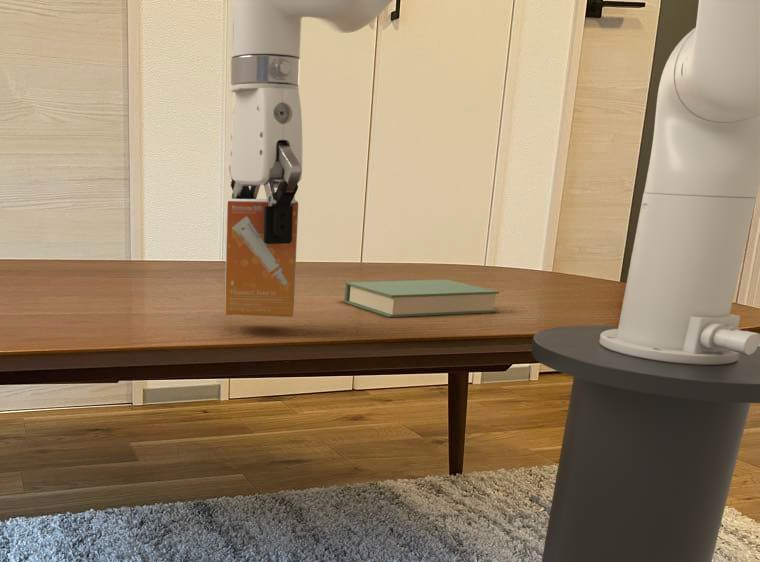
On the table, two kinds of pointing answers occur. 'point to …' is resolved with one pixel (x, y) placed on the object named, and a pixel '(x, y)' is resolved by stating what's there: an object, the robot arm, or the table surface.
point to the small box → (257, 263)
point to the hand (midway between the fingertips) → (260, 239)
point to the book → (420, 297)
